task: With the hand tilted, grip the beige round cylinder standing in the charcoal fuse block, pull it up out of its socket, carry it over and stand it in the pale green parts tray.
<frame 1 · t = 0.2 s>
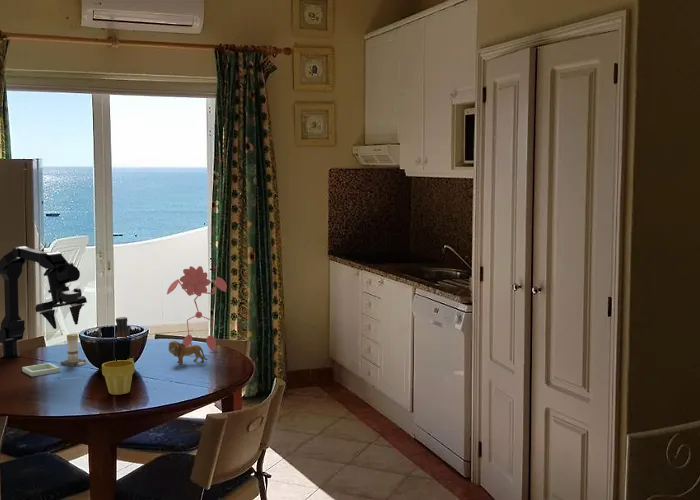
hand: (66, 326, 301), 15 cm above the table, tool pointing down, fingers open, 9 cm apart
beige round cylinder: (73, 363, 305), point 1 cm above the table, touching fuse block
figurine: (196, 352, 326), on the table
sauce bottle: (124, 371, 295), on the table
fuse block: (73, 365, 305), on the table
lion figurine: (187, 363, 307), on the table
parts tray: (41, 373, 294), on the table
plant pot: (119, 392, 268), on the table
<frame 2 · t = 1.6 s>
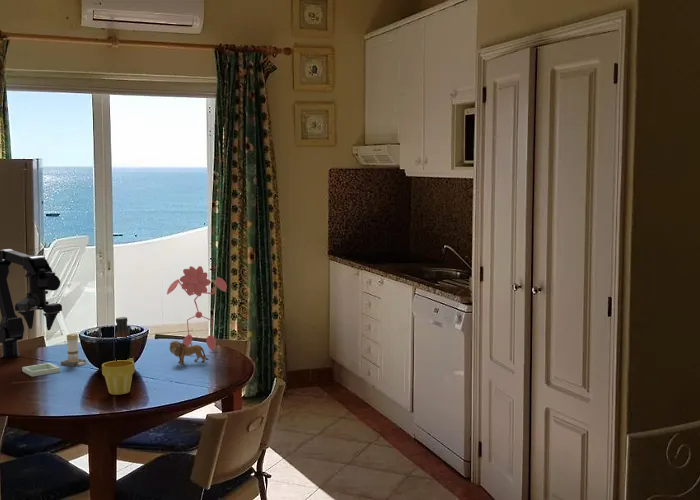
hand: (39, 329, 308), 13 cm above the table, tool pointing down, fingers open, 9 cm apart
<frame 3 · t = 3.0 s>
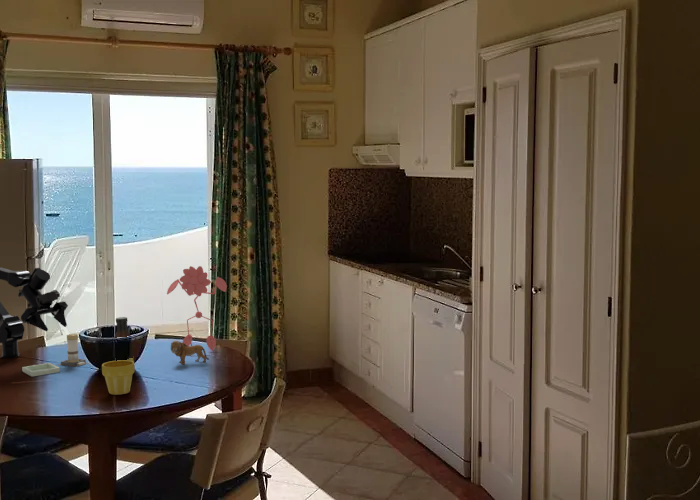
hand: (56, 328, 307), 13 cm above the table, tool tilted 45°, fingers open, 9 cm apart
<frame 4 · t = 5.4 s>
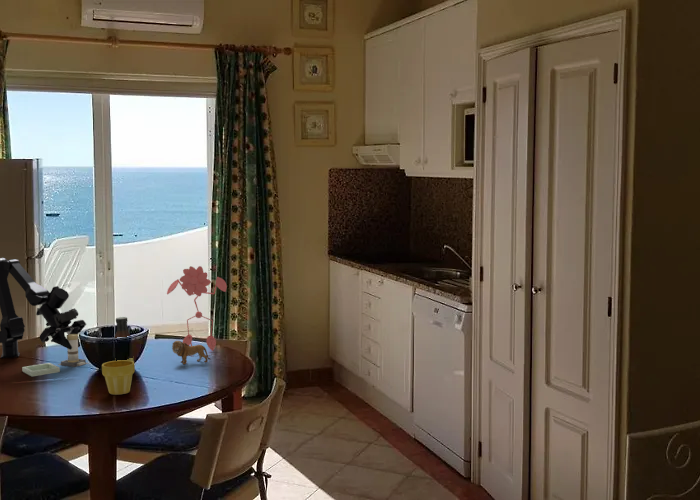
hand: (75, 347, 304), 7 cm above the table, tool tilted 45°, fingers closed on beige round cylinder, 4 cm apart
beige round cylinder: (73, 363, 305), point 1 cm above the table, touching fuse block, gripper
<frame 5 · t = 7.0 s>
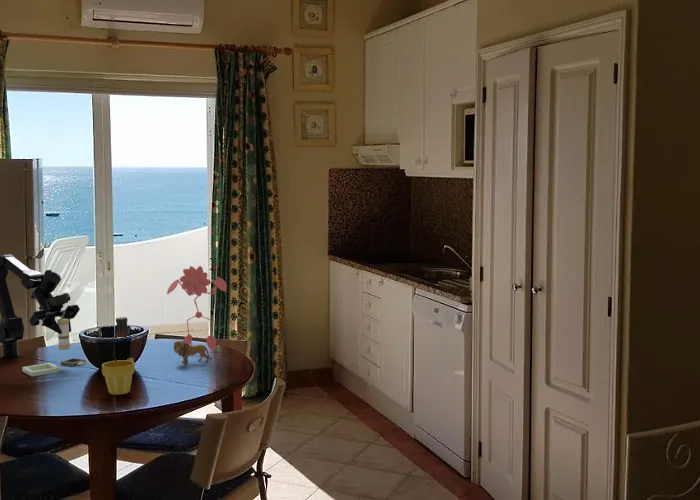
hand: (65, 332, 299), 14 cm above the table, tool tilted 45°, fingers closed on beige round cylinder, 4 cm apart
beige round cylinder: (64, 348, 300), point 7 cm above the table, touching gripper
when the fingers open (8 cm above the table, at t = 8.9 s): beige round cylinder stays where it is, resting on parts tray.
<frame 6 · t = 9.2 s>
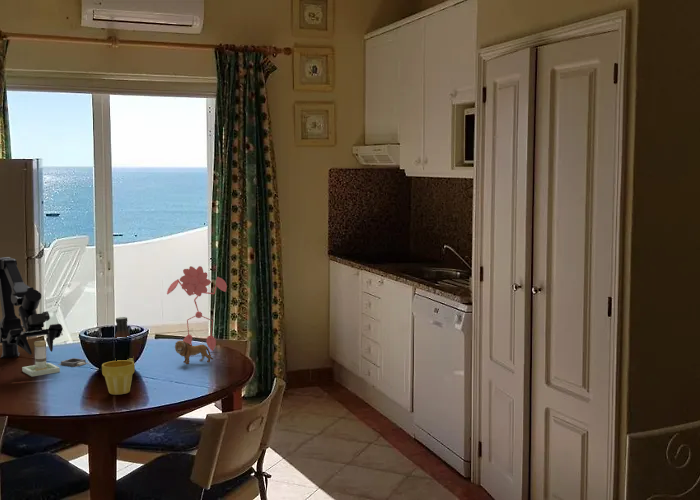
hand: (41, 352, 292), 8 cm above the table, tool tilted 45°, fingers open, 7 cm apart
beige round cylinder: (41, 371, 293), point 1 cm above the table, touching parts tray
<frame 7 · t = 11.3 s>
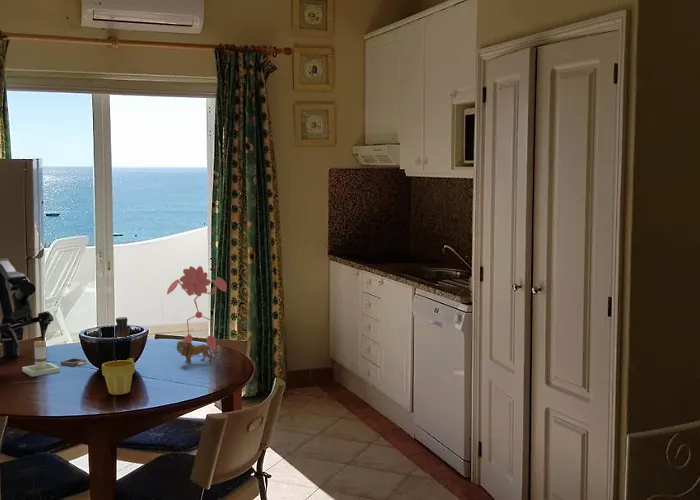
hand: (30, 344, 300), 9 cm above the table, tool tilted 30°, fingers open, 9 cm apart
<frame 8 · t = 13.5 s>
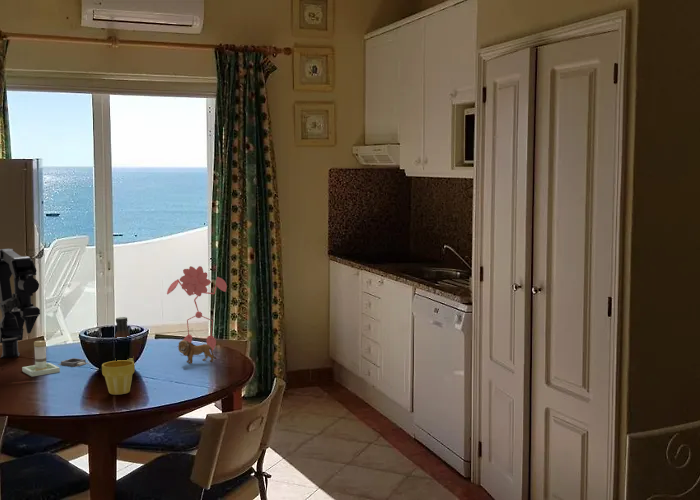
hand: (24, 331, 304), 13 cm above the table, tool pointing down, fingers open, 9 cm apart
at the end: beige round cylinder inside the target area on the parts tray (0.0 cm from its centre), point 0.6 cm above the parts tray's base; beige round cylinder tilted 0°; the gripper is holding nothing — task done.
